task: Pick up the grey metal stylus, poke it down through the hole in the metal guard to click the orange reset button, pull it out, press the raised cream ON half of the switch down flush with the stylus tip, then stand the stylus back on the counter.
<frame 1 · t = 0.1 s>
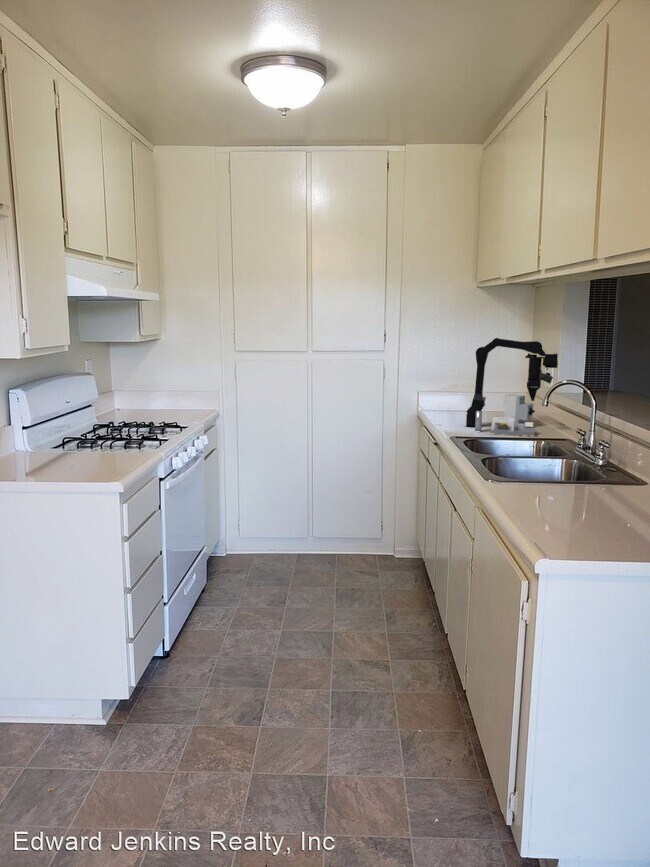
hand: (533, 399, 317), 15 cm above the counter, tool pointing down, fingers open, 9 cm apart
reset button: (503, 424, 310), point 4 cm above the counter, slide at 0.0 cm
circuit breaker: (518, 425, 330), on the counter
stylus: (478, 431, 314), on the counter
rocker switch: (529, 424, 307), point 5 cm above the counter, slide at 0.0 cm
breaker panel: (512, 433, 310), on the counter
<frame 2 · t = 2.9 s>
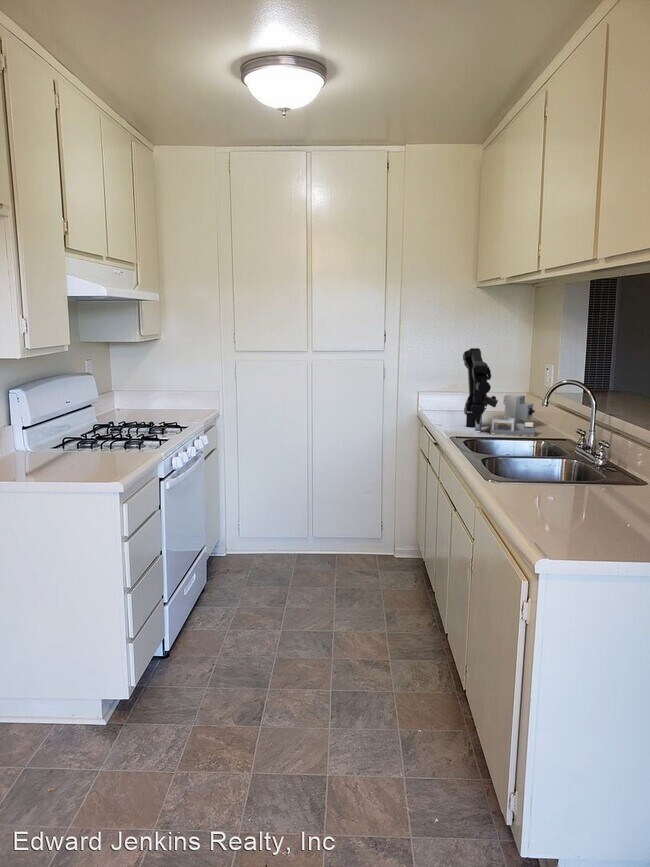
hand: (478, 423, 313), 4 cm above the counter, tool pointing down, fingers closed on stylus, 3 cm apart
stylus: (478, 431, 314), on the counter, touching gripper
everything else where it was.
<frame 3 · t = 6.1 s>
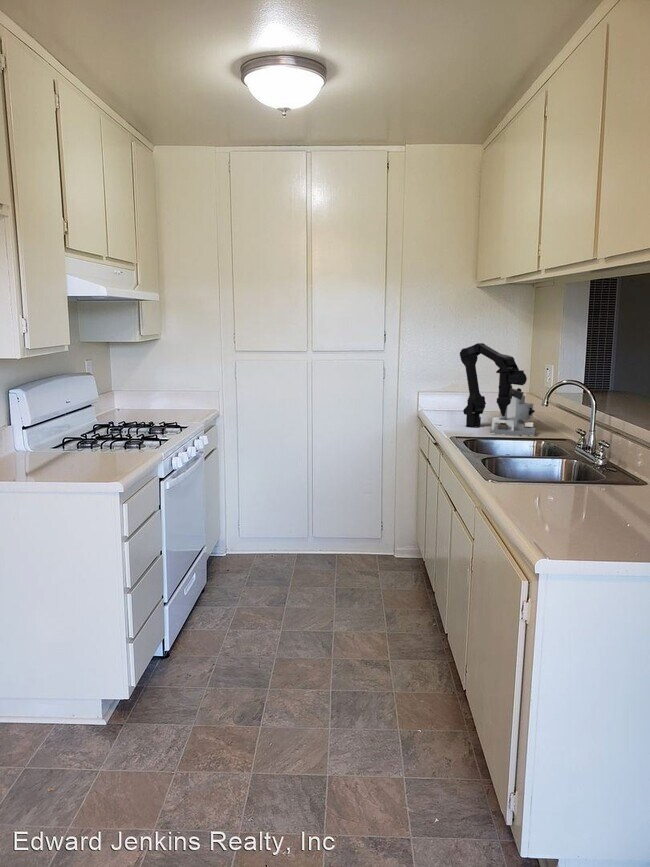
hand: (503, 415, 310), 8 cm above the counter, tool pointing down, fingers closed on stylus, 3 cm apart
reset button: (503, 426, 311), point 3 cm above the counter, slide at 0.8 cm, touching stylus
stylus: (503, 424, 311), point 4 cm above the counter, touching gripper, reset button
everything else where it was.
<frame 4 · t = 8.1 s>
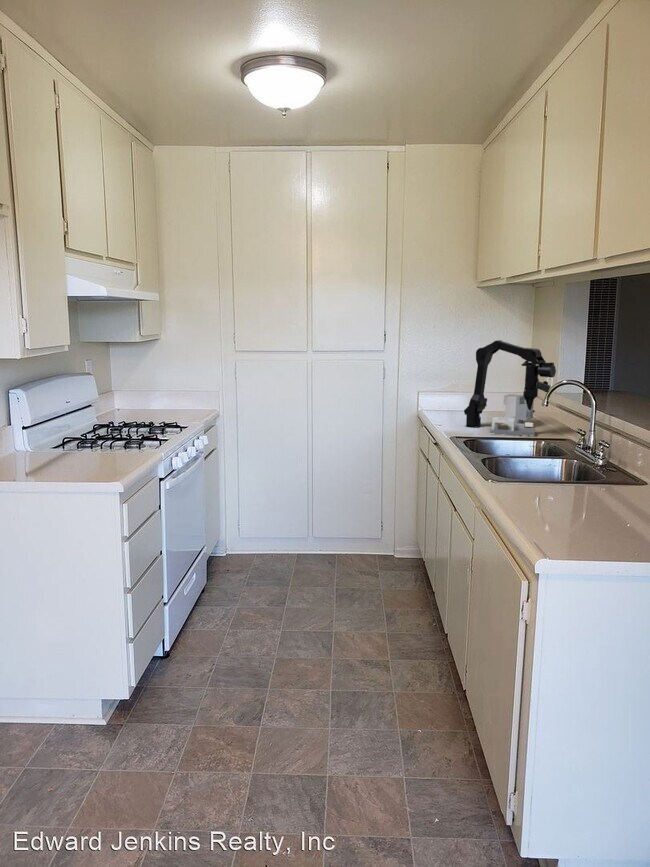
hand: (529, 409, 305), 12 cm above the counter, tool pointing down, fingers closed on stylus, 3 cm apart
reset button: (503, 426, 311), point 3 cm above the counter, slide at 0.8 cm
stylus: (529, 417, 306), point 8 cm above the counter, touching gripper
everything else where it was.
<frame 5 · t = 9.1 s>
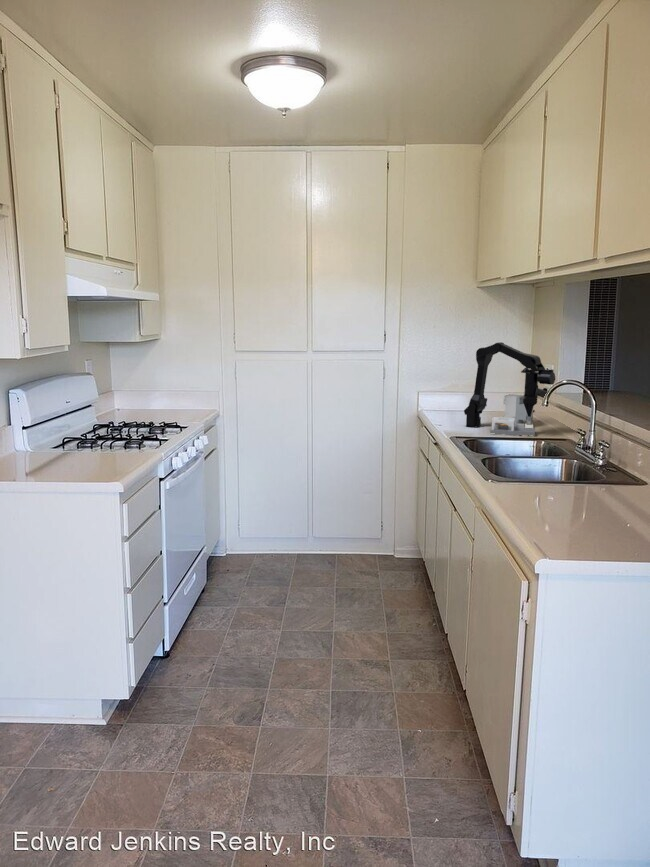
hand: (529, 416, 306), 9 cm above the counter, tool pointing down, fingers closed on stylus, 3 cm apart
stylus: (528, 424, 307), point 5 cm above the counter, touching gripper, rocker switch
rocker switch: (529, 425, 307), point 4 cm above the counter, slide at 0.7 cm, touching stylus
everything else where it was.
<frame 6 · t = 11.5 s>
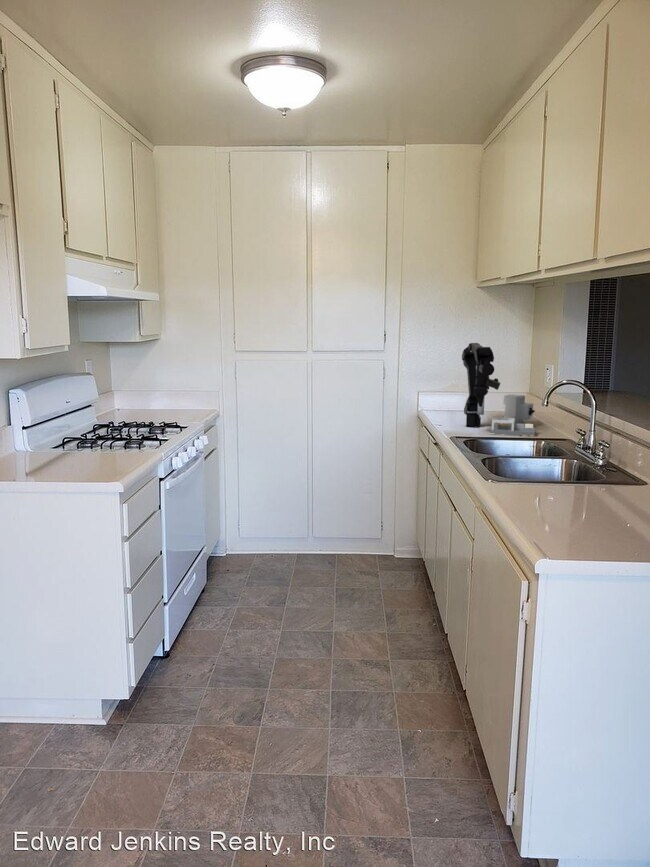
hand: (480, 406, 311), 12 cm above the counter, tool pointing down, fingers closed on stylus, 3 cm apart
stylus: (480, 414, 312), point 8 cm above the counter, touching gripper
rocker switch: (529, 425, 307), point 4 cm above the counter, slide at 0.7 cm
everything else where it was.
when the fingers open (4 cm above the counter, at t = 13.4 s): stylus stays where it is, on the counter.
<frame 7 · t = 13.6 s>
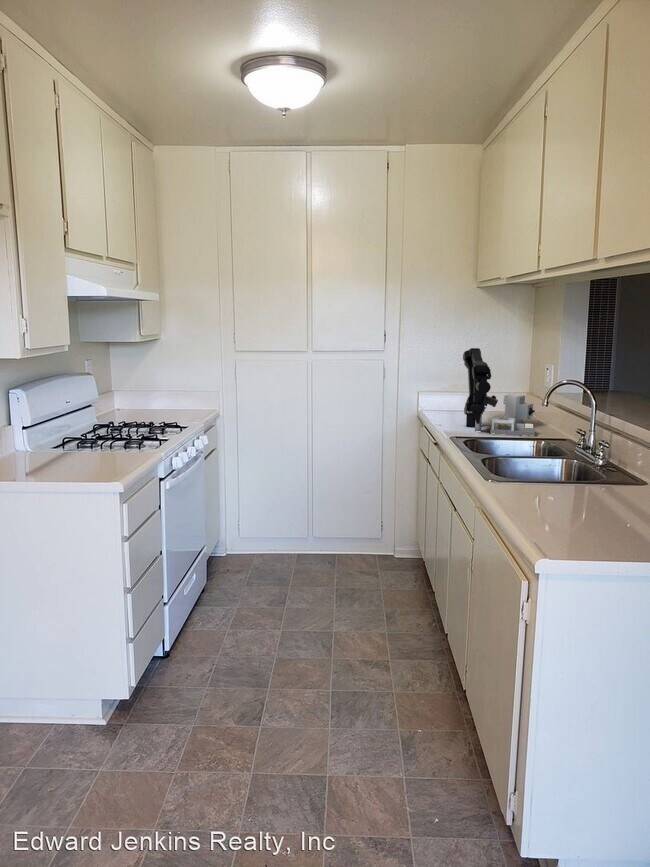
hand: (478, 423, 313), 4 cm above the counter, tool pointing down, fingers open, 5 cm apart
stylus: (478, 431, 314), on the counter
everything else where it was.
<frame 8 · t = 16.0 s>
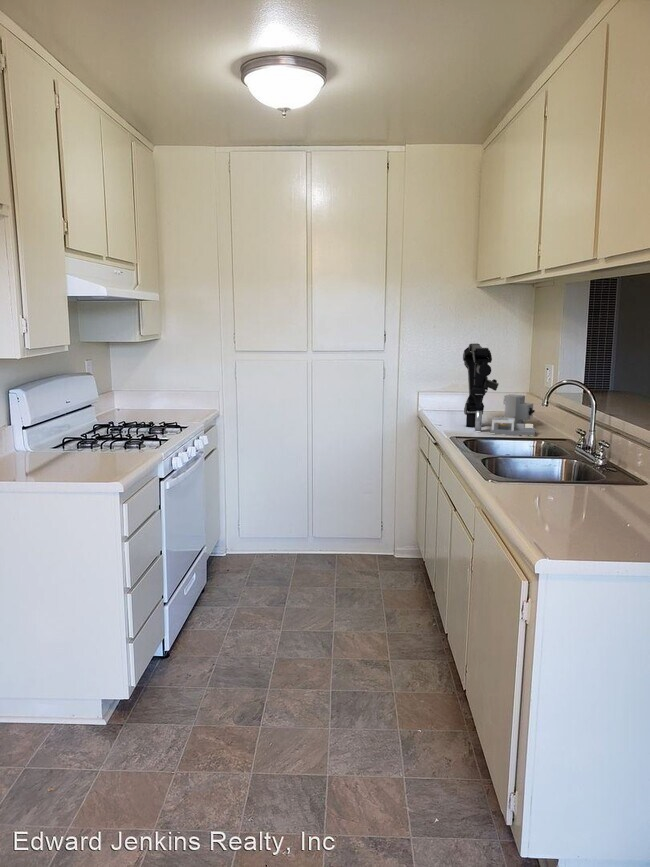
hand: (479, 406, 312), 12 cm above the counter, tool pointing down, fingers open, 9 cm apart
nothing on the counter moved.
at the end: reset button slide at 0.8 cm; rocker switch slide at 0.7 cm; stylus inside the target area (0.6 cm from its centre), on the counter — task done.
